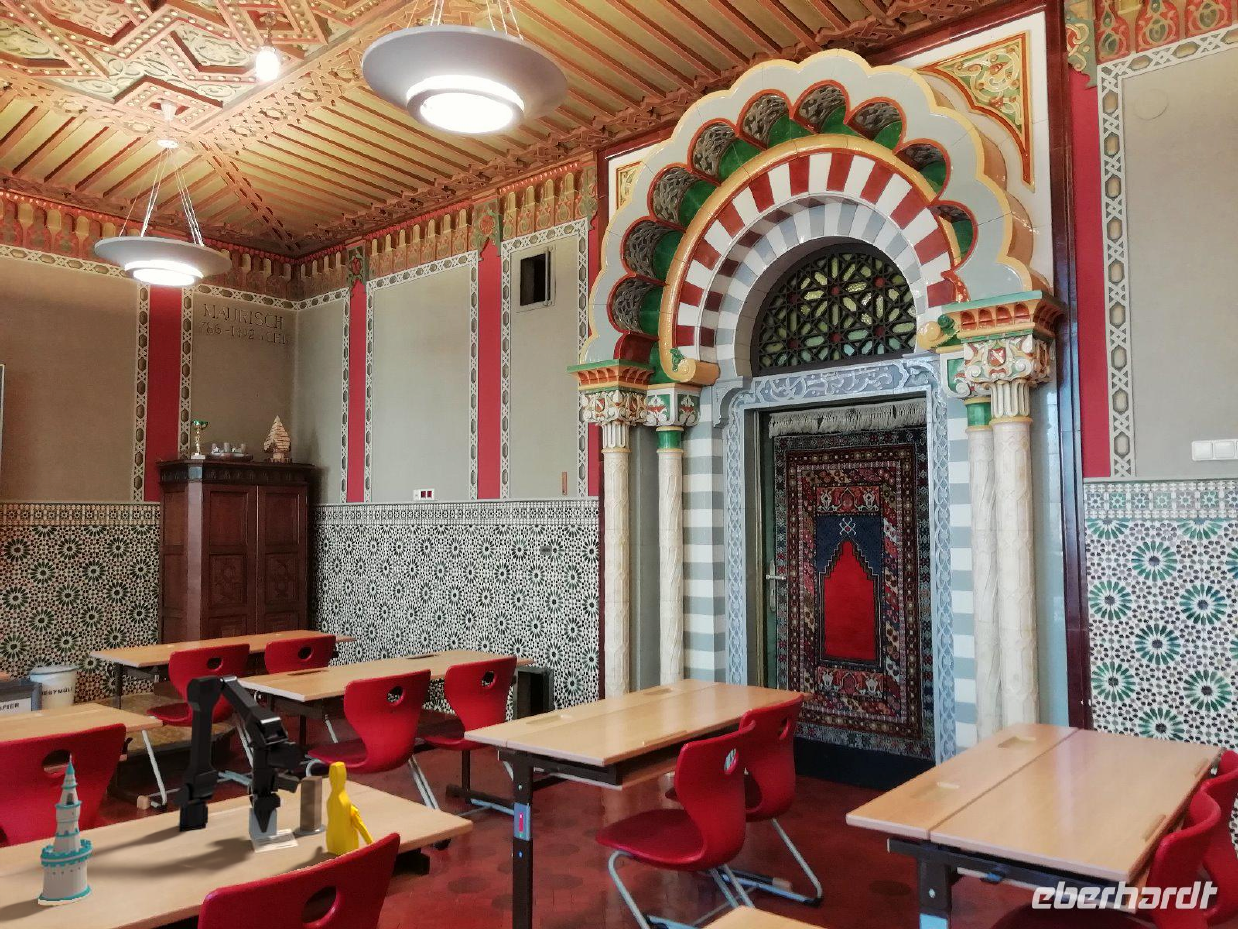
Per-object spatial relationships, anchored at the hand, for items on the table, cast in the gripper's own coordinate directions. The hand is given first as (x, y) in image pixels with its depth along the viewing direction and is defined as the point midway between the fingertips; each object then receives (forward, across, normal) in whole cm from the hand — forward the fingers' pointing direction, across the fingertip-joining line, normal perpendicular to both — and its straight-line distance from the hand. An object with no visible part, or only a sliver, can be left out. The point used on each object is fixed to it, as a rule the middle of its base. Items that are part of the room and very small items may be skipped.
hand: (262, 829), depth 225 cm
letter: (+3, -1, -2) cm, 4 cm away
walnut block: (+2, +2, -12) cm, 13 cm away
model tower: (+3, -17, +42) cm, 45 cm away
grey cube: (+1, 0, 0) cm, 1 cm away
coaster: (+3, +2, -12) cm, 13 cm away
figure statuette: (+3, -19, -16) cm, 25 cm away
